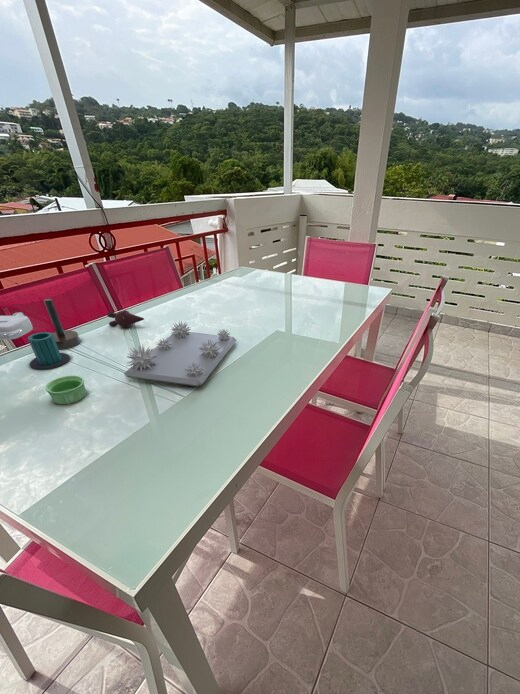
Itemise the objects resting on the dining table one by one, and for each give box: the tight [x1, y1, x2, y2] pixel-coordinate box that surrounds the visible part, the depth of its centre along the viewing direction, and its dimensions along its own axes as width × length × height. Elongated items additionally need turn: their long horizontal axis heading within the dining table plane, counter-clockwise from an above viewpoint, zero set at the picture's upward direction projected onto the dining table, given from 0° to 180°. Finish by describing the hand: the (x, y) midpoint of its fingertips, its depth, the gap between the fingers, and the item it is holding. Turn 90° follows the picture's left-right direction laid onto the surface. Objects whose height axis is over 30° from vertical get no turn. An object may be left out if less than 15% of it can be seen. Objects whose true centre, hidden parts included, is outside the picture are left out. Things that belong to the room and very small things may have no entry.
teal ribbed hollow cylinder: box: [27, 331, 62, 365], centre depth 106 cm, size 6×6×8 cm
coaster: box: [29, 352, 71, 371], centre depth 108 cm, size 11×11×1 cm
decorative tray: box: [123, 320, 237, 388], centre depth 111 cm, size 35×26×10 cm
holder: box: [43, 298, 81, 350], centre depth 115 cm, size 10×10×16 cm
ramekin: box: [45, 375, 87, 405], centre depth 92 cm, size 9×9×4 cm
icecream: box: [106, 309, 145, 328], centre depth 133 cm, size 7×7×15 cm
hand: (1, 314), depth 88 cm, fingers open, 8 cm apart
